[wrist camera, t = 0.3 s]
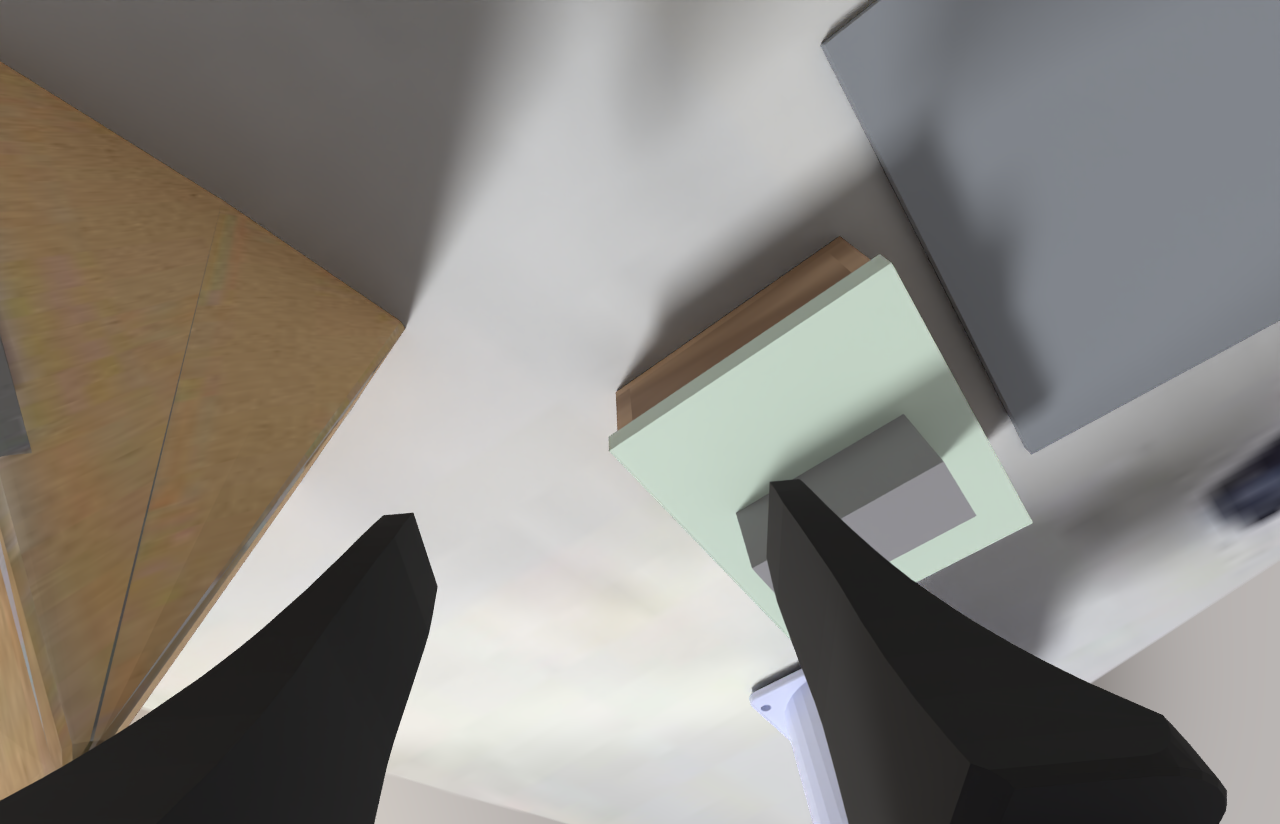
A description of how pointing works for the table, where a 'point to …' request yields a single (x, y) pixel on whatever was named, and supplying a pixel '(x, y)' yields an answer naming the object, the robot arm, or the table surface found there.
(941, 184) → the slate mat
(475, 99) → the table surface
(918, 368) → the lid
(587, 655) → the table surface
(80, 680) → the sandwich container
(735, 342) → the walnut box
